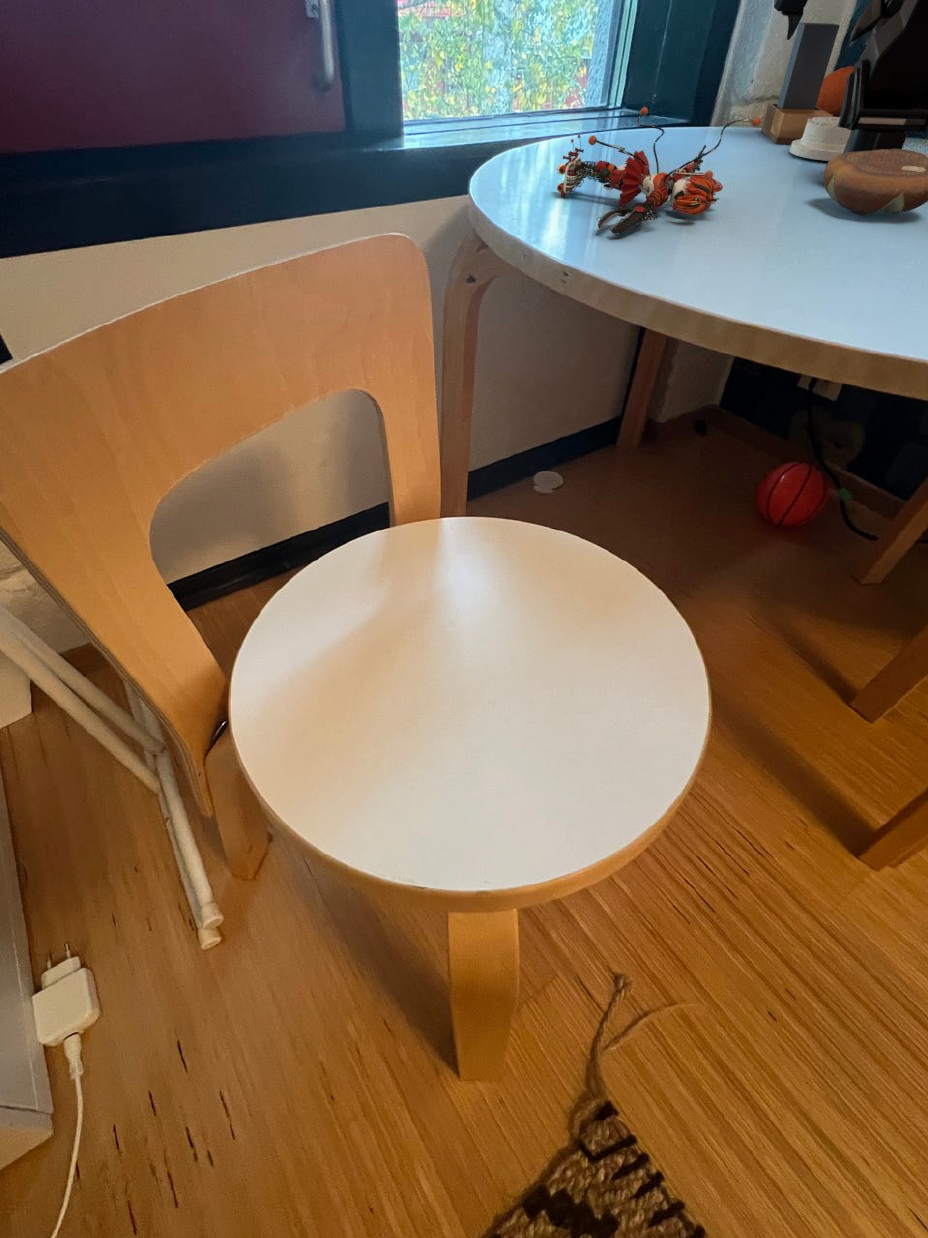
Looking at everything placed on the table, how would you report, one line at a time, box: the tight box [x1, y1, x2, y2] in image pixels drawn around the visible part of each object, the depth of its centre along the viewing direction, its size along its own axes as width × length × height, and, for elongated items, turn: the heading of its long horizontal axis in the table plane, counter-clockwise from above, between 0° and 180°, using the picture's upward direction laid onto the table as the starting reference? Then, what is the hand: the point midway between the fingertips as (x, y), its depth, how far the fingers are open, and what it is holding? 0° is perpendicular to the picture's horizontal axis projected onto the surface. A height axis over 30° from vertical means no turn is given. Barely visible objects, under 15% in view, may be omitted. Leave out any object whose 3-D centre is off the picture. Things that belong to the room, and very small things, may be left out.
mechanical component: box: [789, 117, 851, 162], centre depth 98 cm, size 10×4×10 cm
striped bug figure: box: [556, 106, 762, 237], centre depth 74 cm, size 25×9×20 cm
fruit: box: [816, 65, 854, 117], centre depth 118 cm, size 9×9×8 cm
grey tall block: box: [776, 22, 841, 110], centre depth 107 cm, size 4×5×13 cm
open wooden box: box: [760, 102, 833, 145], centre depth 109 cm, size 11×7×4 cm
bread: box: [822, 148, 928, 216], centre depth 76 cm, size 11×11×5 cm
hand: (819, 37), depth 102 cm, fingers open, 9 cm apart
